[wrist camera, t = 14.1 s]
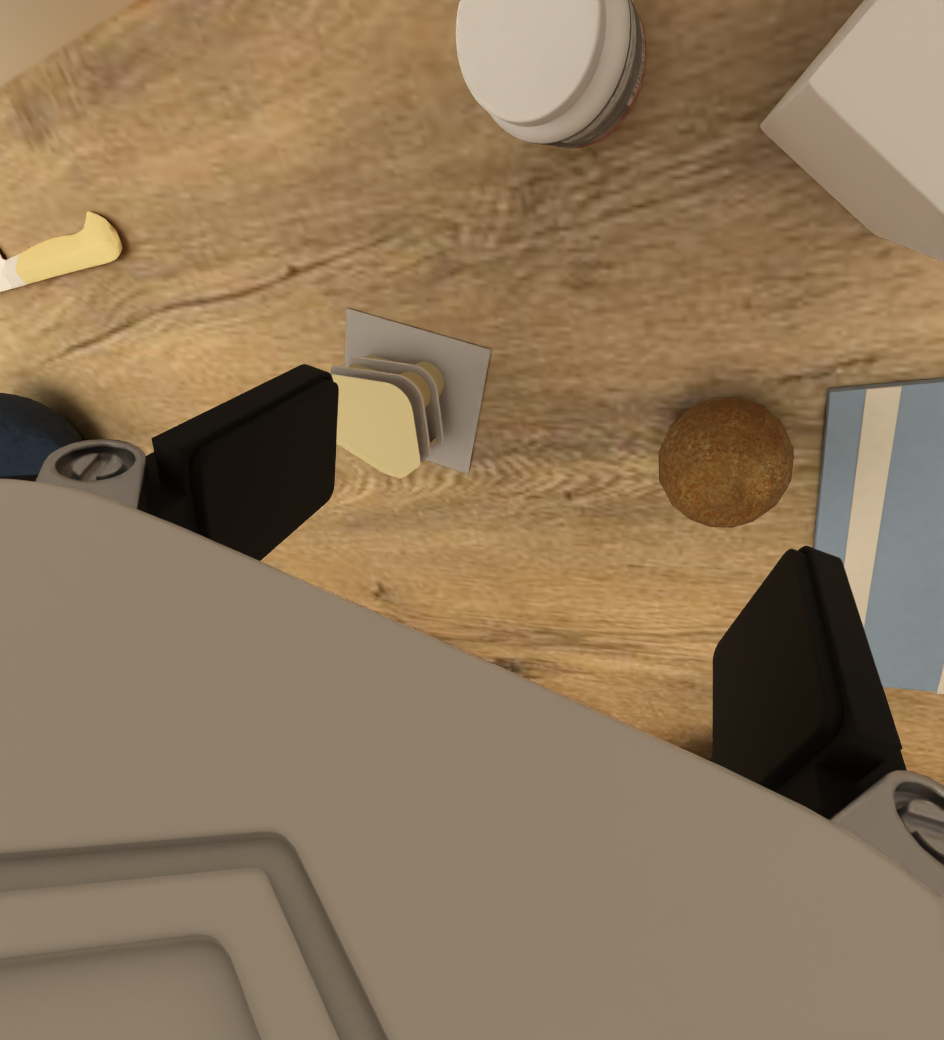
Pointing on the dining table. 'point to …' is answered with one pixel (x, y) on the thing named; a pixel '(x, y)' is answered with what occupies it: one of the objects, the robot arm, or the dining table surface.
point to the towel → (889, 520)
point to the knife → (62, 254)
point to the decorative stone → (30, 434)
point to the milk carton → (876, 121)
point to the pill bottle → (552, 65)
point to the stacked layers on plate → (407, 395)
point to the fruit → (725, 462)
